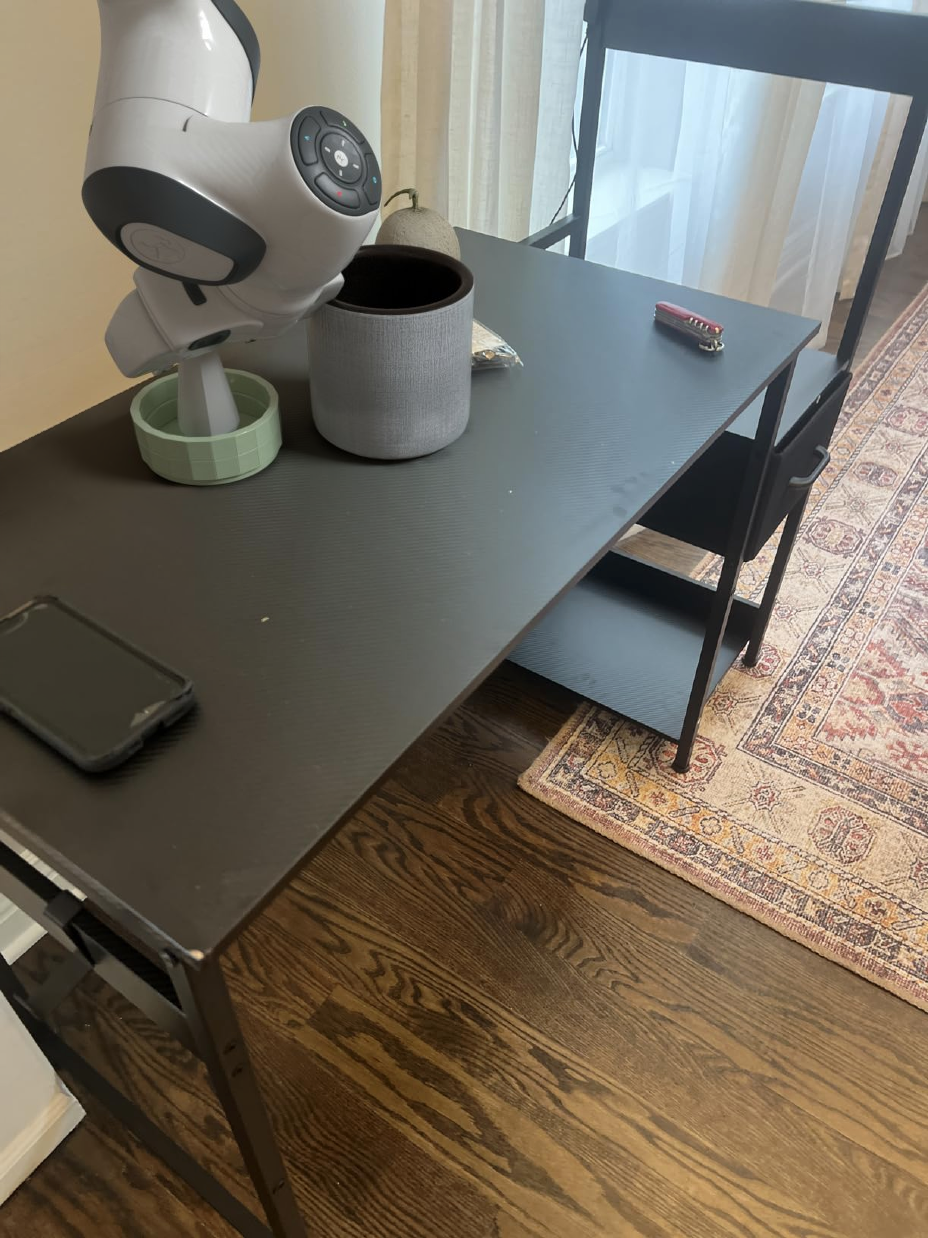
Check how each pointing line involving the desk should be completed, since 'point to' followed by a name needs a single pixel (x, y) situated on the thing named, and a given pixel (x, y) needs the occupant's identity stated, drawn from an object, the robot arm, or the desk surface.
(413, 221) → the fruit
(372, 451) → the planter
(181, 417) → the grey tapered column
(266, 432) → the bowl
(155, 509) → the desk surface
